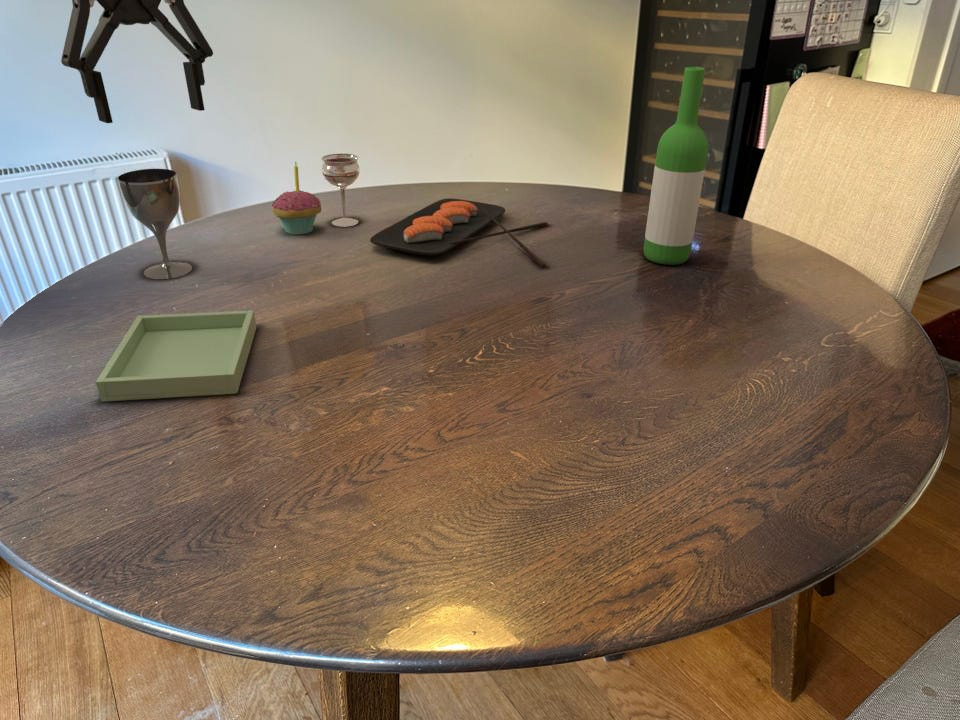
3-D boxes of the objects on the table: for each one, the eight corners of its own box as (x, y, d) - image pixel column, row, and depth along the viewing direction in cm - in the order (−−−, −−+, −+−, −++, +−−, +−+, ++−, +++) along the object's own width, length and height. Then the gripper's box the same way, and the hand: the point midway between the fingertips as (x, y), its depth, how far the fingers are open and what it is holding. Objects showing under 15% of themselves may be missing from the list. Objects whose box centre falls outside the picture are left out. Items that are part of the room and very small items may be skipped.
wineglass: (339, 230, 128) (333, 164, 122) (319, 221, 132) (313, 157, 126) (370, 223, 132) (366, 158, 126) (350, 214, 136) (345, 151, 130)
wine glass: (205, 268, 112) (187, 174, 104) (161, 284, 106) (139, 186, 98) (174, 257, 115) (154, 165, 108) (130, 272, 109) (106, 176, 102)
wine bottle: (639, 263, 116) (665, 69, 101) (645, 247, 123) (670, 63, 108) (687, 269, 114) (721, 72, 99) (690, 253, 121) (723, 66, 106)
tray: (101, 401, 78) (95, 382, 77) (142, 333, 92) (137, 315, 91) (237, 393, 80) (233, 374, 78) (256, 327, 94) (253, 310, 93)
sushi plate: (445, 205, 142) (444, 187, 140) (586, 229, 131) (588, 209, 129) (363, 251, 119) (361, 229, 117) (526, 284, 108) (527, 261, 106)
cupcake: (283, 222, 131) (275, 157, 125) (328, 223, 131) (322, 158, 125) (269, 238, 124) (260, 170, 118) (317, 239, 124) (310, 171, 118)
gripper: (23, -58, 81) (73, 131, 91) (221, -53, 97) (244, 107, 107) (1, -58, 85) (52, 123, 96) (194, -53, 101) (219, 101, 112)
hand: (153, 115), depth 102 cm, fingers open, 13 cm apart
